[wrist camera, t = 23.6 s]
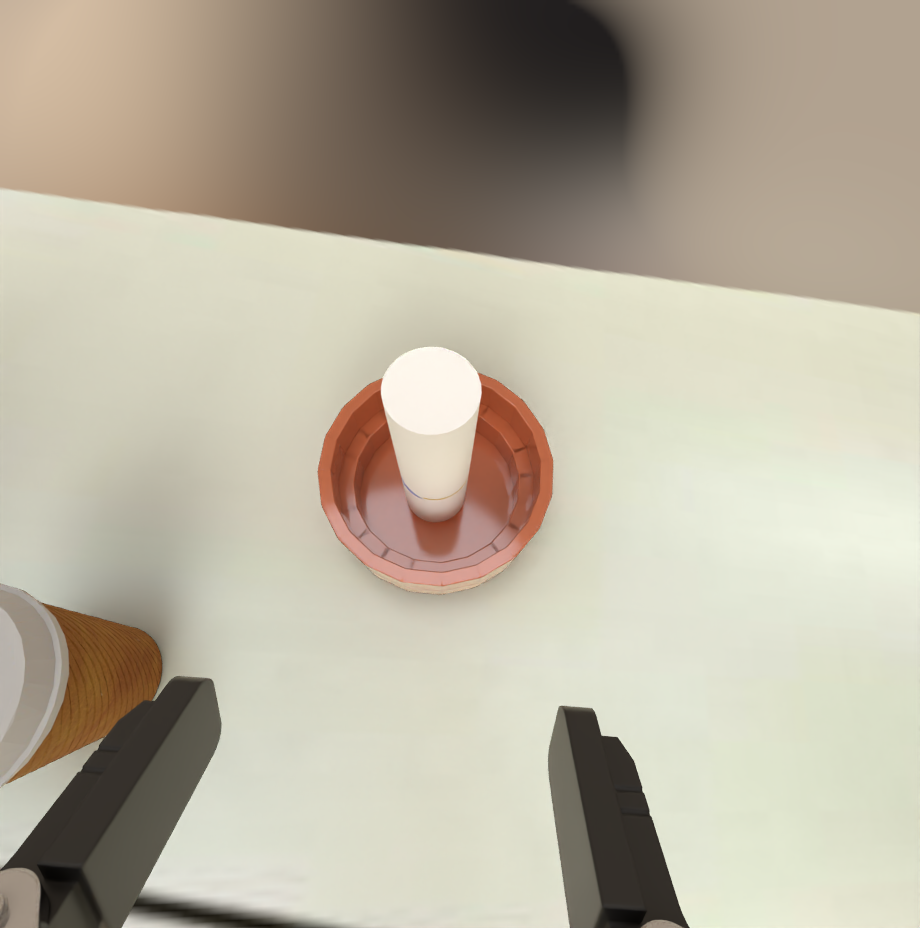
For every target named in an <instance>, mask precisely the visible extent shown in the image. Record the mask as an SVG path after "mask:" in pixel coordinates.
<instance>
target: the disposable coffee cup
mask: <svg viewBox="0 0 920 928" xmlns="http://www.w3.org/2000/svg"><path fill="white" fill-rule="evenodd" d="M161 673H162V660H161V654H160V651H159V649H158V646H157V644H156V643H155V642H154V640H153V639H152V638H151V637H150V636H149V635H148V634H147V633H145V632H144V631H142V630H140V629H138V628H134V627H130V626H126V625H122V624H119V623H115V622H111V621H107V620H104V619H100V618H97V617H93V616H88V615H85V614H81V613H78V612H74V611H69V610H66V609H63V608H59V607H55V606H52V605H47V604H44V603H41V602H39V601H38V600H36V599H35V598H34V597H32V596H31V595H30V594H28V593H27V592H25V591H23V590H20V589H17V588H14V587H10V586H7V585H4V584H0V788H1V787H2V786H4V785H5V784H7V783H10V782H12V781H14V780H16V779H17V778H20V777H22V776H24V775H26V774H28V773H30V772H33V771H35V770H37V769H38V768H41V767H43V766H45V765H47V764H49V763H51V762H53V761H55V760H57V759H59V758H62V757H64V756H65V755H67V754H70V753H72V752H74V751H76V750H78V749H80V748H82V747H84V746H86V745H88V744H90V743H92V742H95V741H96V740H98V739H101V738H103V737H105V736H107V735H108V733H109V732H110V731H111V729H112V728H113V727H114V725H115V724H116V723H117V722H118V720H120V719H121V718H122V717H123V716H125V715H126V714H127V713H129V712H130V711H131V710H132V709H134V708H135V707H136V706H137V705H139V704H140V703H141V702H142V701H144V700H148V701H152V699H153V697H154V696H155V694H156V691H157V688H158V686H159V683H160V679H161Z"/></svg>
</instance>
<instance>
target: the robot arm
mask: <svg viewBox="0 0 920 928" xmlns="http://www.w3.org/2000/svg"><path fill="white" fill-rule="evenodd" d="M220 734H221V718H220V713H219V708H218V703H217V698H216V692H215V687H214V683H213V681H212V680H211V679H208V678H196V677H184V676H176V677H174V678H173V679H171V680H170V681H169V683H168V684H167V685H166V686H165V688H164V689H163V691H162V692H161V693H160V695H159V696H158V697H157V699H156V700H155V701H148V700H144V701H142V702H141V703H140V704H139V705H137V706H136V707H135V708H134V709H132V710H131V711H130V712H129V713H127V714H126V715H125V716H123V717H122V718H121V719H120V720H118V722H117V723H116V724H115V725H114V727H113V728H112V729H111V731H110V732H109V733H108V735H107V736H106V737H105V738H104V740H103V741H102V742H101V744H100V745H99V748H98V750H97V751H94V753H93V754H92V755H91V756H90V758H89V759H88V760H87V762H86V763H85V764H84V765H83V769H82V771H81V772H78V773H77V774H76V776H75V777H74V778H73V780H72V781H71V782H70V783H69V785H68V786H67V787H66V789H65V790H64V791H63V793H62V794H61V795H60V796H59V798H58V799H57V800H56V802H55V803H54V804H53V805H52V807H51V808H50V809H49V811H48V812H47V813H46V814H45V816H44V817H43V818H42V820H41V821H40V822H39V823H38V825H37V826H36V827H35V829H34V830H33V831H32V832H31V834H30V835H29V836H28V838H27V839H26V840H25V841H24V843H23V844H22V845H21V847H20V848H19V849H18V851H17V852H16V853H15V854H14V855H13V857H12V858H11V859H10V860H9V861H8V863H7V864H6V865H5V866H4V867H3V868H2V869H1V870H0V928H122V926H123V924H124V922H125V920H126V918H127V916H128V914H129V913H130V911H131V909H132V907H133V905H134V903H135V901H136V899H137V898H138V896H139V894H140V892H141V890H142V888H143V886H144V884H145V882H146V881H147V879H148V877H149V875H150V873H151V871H152V869H153V867H154V865H155V864H156V862H157V860H158V858H159V856H160V854H161V852H162V850H163V849H164V847H165V845H166V843H167V841H168V839H169V837H170V835H171V833H172V832H173V830H174V828H175V826H176V824H177V822H178V820H179V818H180V817H181V815H182V813H183V811H184V809H185V807H186V805H187V803H188V801H189V800H190V798H191V796H192V794H193V792H194V790H195V788H196V786H197V784H198V783H199V781H200V779H201V777H202V775H203V773H204V771H205V769H206V768H207V766H208V764H209V762H210V760H211V758H212V756H213V754H214V752H215V750H216V748H217V745H218V742H219V738H220ZM548 771H549V782H550V789H551V796H552V803H553V810H554V817H555V824H556V832H557V839H558V846H559V853H560V860H561V867H562V874H563V882H564V889H565V896H566V903H567V910H568V917H569V924H570V928H689V926H688V924H687V922H686V920H685V918H684V916H683V914H682V911H681V909H680V906H679V903H678V900H677V897H676V894H675V890H674V887H673V884H672V881H671V878H670V874H669V871H668V868H667V865H666V862H665V858H664V855H663V852H662V849H661V846H660V843H659V839H658V836H657V833H656V830H655V827H654V823H653V820H652V817H651V816H650V814H649V807H648V804H647V801H646V798H645V795H644V793H643V792H642V785H641V782H640V779H639V776H638V772H637V769H636V766H635V763H634V760H633V759H632V757H631V756H630V755H629V753H628V752H627V750H626V749H625V747H624V746H623V744H622V743H621V742H620V740H619V739H618V737H609V736H601V732H600V729H599V725H598V721H597V717H596V714H595V712H594V710H593V709H592V708H582V707H569V706H560V707H559V708H558V712H557V716H556V721H555V725H554V729H553V733H552V738H551V742H550V747H549V754H548Z"/></svg>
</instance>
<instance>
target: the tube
mask: <svg viewBox="0 0 920 928" xmlns="http://www.w3.org/2000/svg"><path fill="white" fill-rule="evenodd" d="M481 393H482V392H481V382H480V379H479V376H478V374H477V372H476V370H475V368H474V367H473V366H472V365H471V363H470V362H469V361H468V360H467V359H465V358H464V357H463V356H461V355H460V354H458V353H456V352H454V351H452V350H449V349H445V348H440V347H423V348H417V349H414V350H411V351H409V352H406V353H405V354H403V355H401V356H400V357H398V358H397V359H396V360H395V361H394V362H393V363H392V364H391V365H390V366H389V368H388V369H387V371H386V373H385V375H384V377H383V380H382V384H381V397H382V402H383V406H384V410H385V414H386V418H387V422H388V426H389V430H390V434H391V438H392V442H393V446H394V450H395V454H396V458H397V462H398V466H399V470H400V474H401V478H402V482H403V486H404V490H405V494H406V498H407V502H408V505H409V507H410V509H411V510H412V511H413V513H414V514H415V515H417V516H418V517H419V518H421V519H423V520H425V521H428V522H442V521H446V520H448V519H450V518H452V517H453V516H455V515H456V514H457V513H458V512H459V511H460V509H461V508H462V506H463V503H464V500H465V494H466V488H467V481H468V475H469V469H470V463H471V457H472V450H473V444H474V438H475V431H476V425H477V418H478V412H479V406H480V399H481Z"/></svg>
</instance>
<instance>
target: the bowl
mask: <svg viewBox="0 0 920 928" xmlns="http://www.w3.org/2000/svg"><path fill="white" fill-rule="evenodd" d="M477 374H478V376H479V379H480V382H481V392H482V393H481V399H480V406H479V412H478V418H477V425H476V431H475V438H474V444H473V450H472V457H471V463H470V469H469V475H468V481H467V488H466V494H465V500H464V503H463V506H462V508H461V509H460V511H459V512H458V513H457V514H456V515H455V516H453V517H452V518H450V519H448V520H446V521H442V522H428V521H425V520H423V519H421V518H419V517H418V516H417V515H415V514H414V513H413V511H412V510H411V509H410V507H409V505H408V502H407V498H406V494H405V490H404V486H403V482H402V478H401V474H400V470H399V466H398V462H397V458H396V454H395V450H394V446H393V442H392V438H391V434H390V430H389V426H388V422H387V418H386V414H385V410H384V406H383V402H382V397H381V384H382V380H383V378H381V379H379V380H377V381H375V382H373V383H371V384H369V385H367V386H366V387H365V388H364V389H363V390H362V391H361V392H359V393H358V394H357V395H356V396H355V397H354V398H353V399H352V400H350V401H349V402H348V403H347V404H346V405H345V406H344V407H343V408H342V409H341V411H340V413H339V414H338V416H337V418H336V419H335V421H334V423H333V424H332V426H331V428H330V429H329V431H328V433H327V434H326V437H325V440H324V444H323V448H322V453H321V457H320V462H319V466H318V479H319V488H320V497H321V505H322V508H323V510H324V512H325V514H326V516H327V518H328V520H329V522H330V524H331V526H332V528H333V530H334V532H335V534H336V536H337V538H338V539H339V540H340V541H341V542H342V543H343V544H344V545H345V546H346V547H347V548H348V549H349V550H350V551H351V552H352V553H353V554H354V555H355V556H356V557H357V558H358V559H359V560H360V561H361V562H362V563H363V564H364V565H365V566H366V567H367V568H368V569H369V570H370V571H371V572H373V573H374V574H375V575H376V576H377V577H378V578H380V579H383V580H385V581H387V582H389V583H391V584H393V585H396V586H398V587H400V588H402V589H404V590H406V591H411V592H420V593H429V594H439V595H442V594H443V595H444V594H448V593H453V592H457V591H462V590H466V589H471V588H474V587H477V586H479V585H480V584H482V583H484V582H485V581H487V580H489V579H490V578H492V577H494V576H495V575H497V574H499V573H500V572H502V571H503V570H505V569H506V568H507V566H508V565H509V564H510V563H511V562H512V561H513V560H514V558H515V557H516V556H517V555H518V554H519V553H520V551H521V550H522V549H523V548H524V547H525V545H526V544H527V543H528V542H529V541H530V540H531V538H532V537H533V536H534V535H535V534H536V532H537V531H538V530H539V528H540V526H541V523H542V521H543V518H544V516H545V513H546V510H547V508H548V505H549V502H550V500H551V497H552V485H553V458H552V455H551V452H550V449H549V445H548V442H547V439H546V436H545V432H544V429H543V428H542V426H541V425H540V423H539V422H538V421H537V419H536V418H535V416H534V415H533V413H532V412H531V411H530V409H529V408H528V406H527V405H526V403H525V402H523V400H522V399H520V398H519V397H518V396H517V395H515V394H514V393H513V392H511V391H510V390H509V389H508V388H506V387H505V386H504V385H502V384H501V383H500V382H499V381H497V380H495V379H492V378H490V377H487V376H485V375H482V374H480V373H477Z"/></svg>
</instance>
